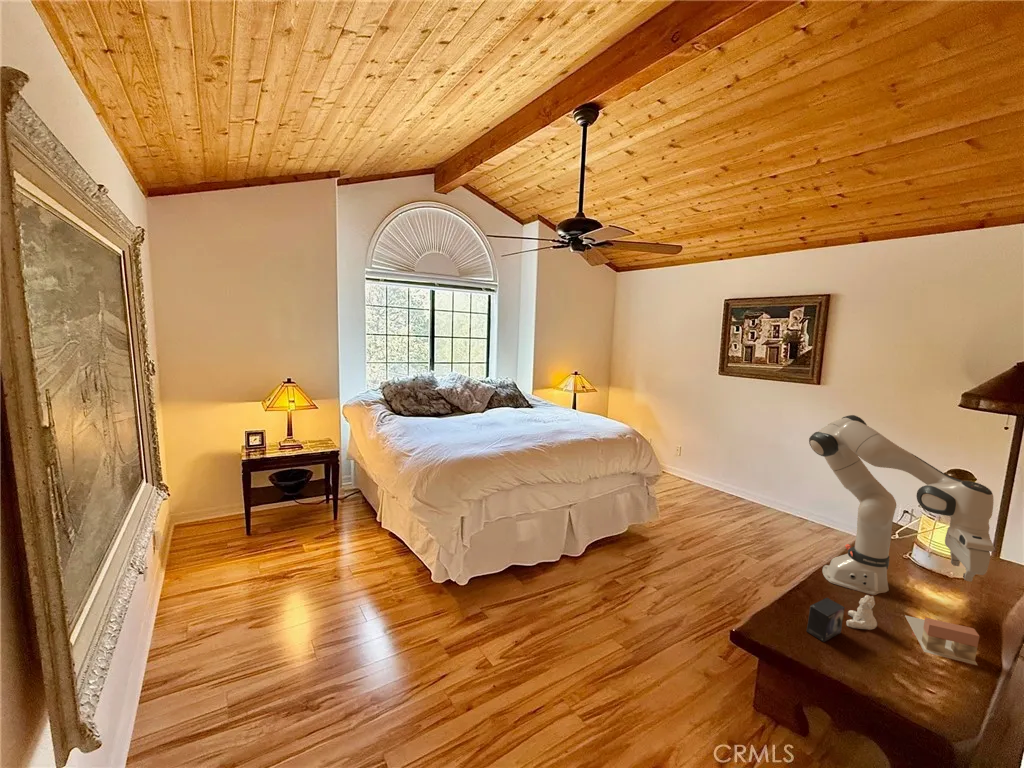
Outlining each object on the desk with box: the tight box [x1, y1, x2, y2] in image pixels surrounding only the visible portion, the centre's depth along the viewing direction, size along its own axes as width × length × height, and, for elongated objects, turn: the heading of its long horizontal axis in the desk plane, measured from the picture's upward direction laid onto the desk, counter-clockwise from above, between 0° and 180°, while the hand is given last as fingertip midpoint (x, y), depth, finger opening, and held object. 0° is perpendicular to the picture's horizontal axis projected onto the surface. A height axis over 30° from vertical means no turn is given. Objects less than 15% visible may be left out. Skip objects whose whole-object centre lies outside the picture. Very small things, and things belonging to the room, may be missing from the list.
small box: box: [806, 597, 845, 643], centre depth 162 cm, size 11×6×10 cm, turn 117°
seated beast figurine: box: [845, 594, 878, 631], centre depth 166 cm, size 10×9×12 cm
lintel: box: [923, 617, 980, 648], centre depth 153 cm, size 4×12×4 cm, turn 64°
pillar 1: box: [922, 630, 946, 654], centre depth 155 cm, size 4×4×5 cm
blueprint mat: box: [904, 614, 979, 666], centre depth 160 cm, size 14×20×1 cm, turn 154°
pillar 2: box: [951, 641, 978, 661], centre depth 152 cm, size 4×4×5 cm
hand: (960, 572), depth 149 cm, fingers open, 8 cm apart
